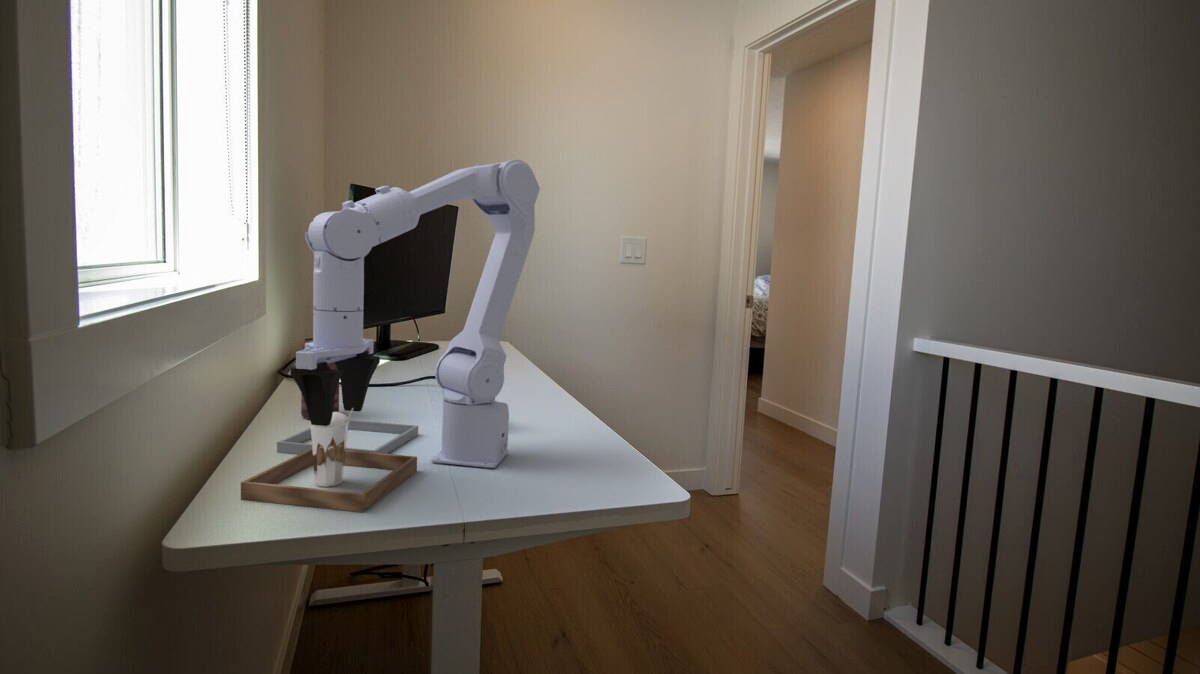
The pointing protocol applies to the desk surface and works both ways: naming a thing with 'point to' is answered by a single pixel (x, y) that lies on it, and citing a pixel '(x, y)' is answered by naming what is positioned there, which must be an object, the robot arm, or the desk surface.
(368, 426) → the grey square frame
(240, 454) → the desk surface
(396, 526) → the desk surface
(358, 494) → the brown wooden frame
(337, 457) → the milkshake
